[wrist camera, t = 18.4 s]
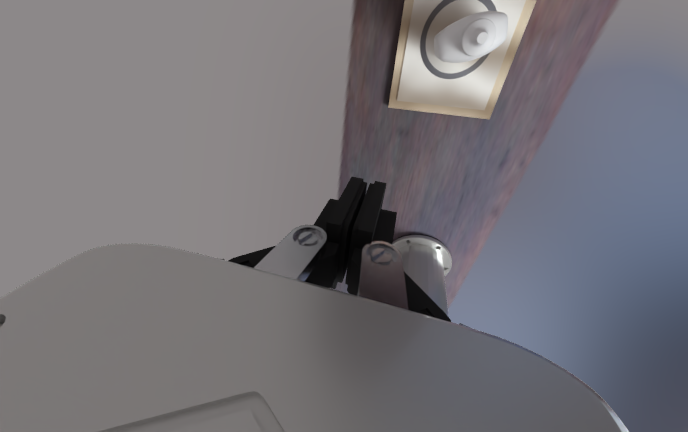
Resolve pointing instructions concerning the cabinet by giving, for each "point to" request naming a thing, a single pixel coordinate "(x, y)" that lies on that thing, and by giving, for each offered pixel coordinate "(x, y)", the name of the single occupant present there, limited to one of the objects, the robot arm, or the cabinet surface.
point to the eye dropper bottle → (471, 37)
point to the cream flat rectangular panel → (452, 78)
